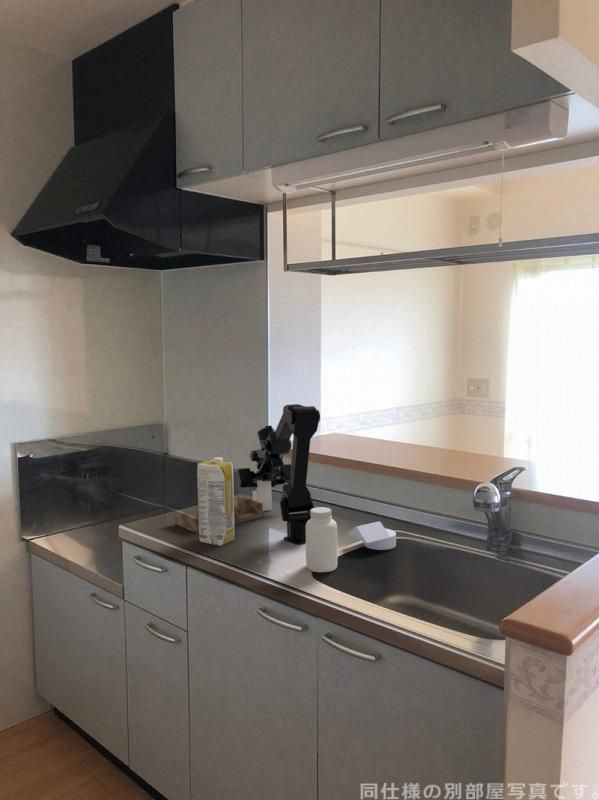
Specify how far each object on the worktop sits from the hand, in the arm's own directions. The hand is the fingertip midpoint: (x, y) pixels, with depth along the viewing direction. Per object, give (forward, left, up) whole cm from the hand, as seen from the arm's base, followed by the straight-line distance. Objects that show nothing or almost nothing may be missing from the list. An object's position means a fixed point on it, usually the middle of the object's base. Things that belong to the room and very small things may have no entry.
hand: (260, 488), depth 217 cm
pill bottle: (-53, +22, -7) cm, 58 cm away
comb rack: (-2, +18, -7) cm, 20 cm away
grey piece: (-1, 0, -7) cm, 7 cm away
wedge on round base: (-51, 0, -7) cm, 52 cm away
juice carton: (-18, +30, -7) cm, 36 cm away
